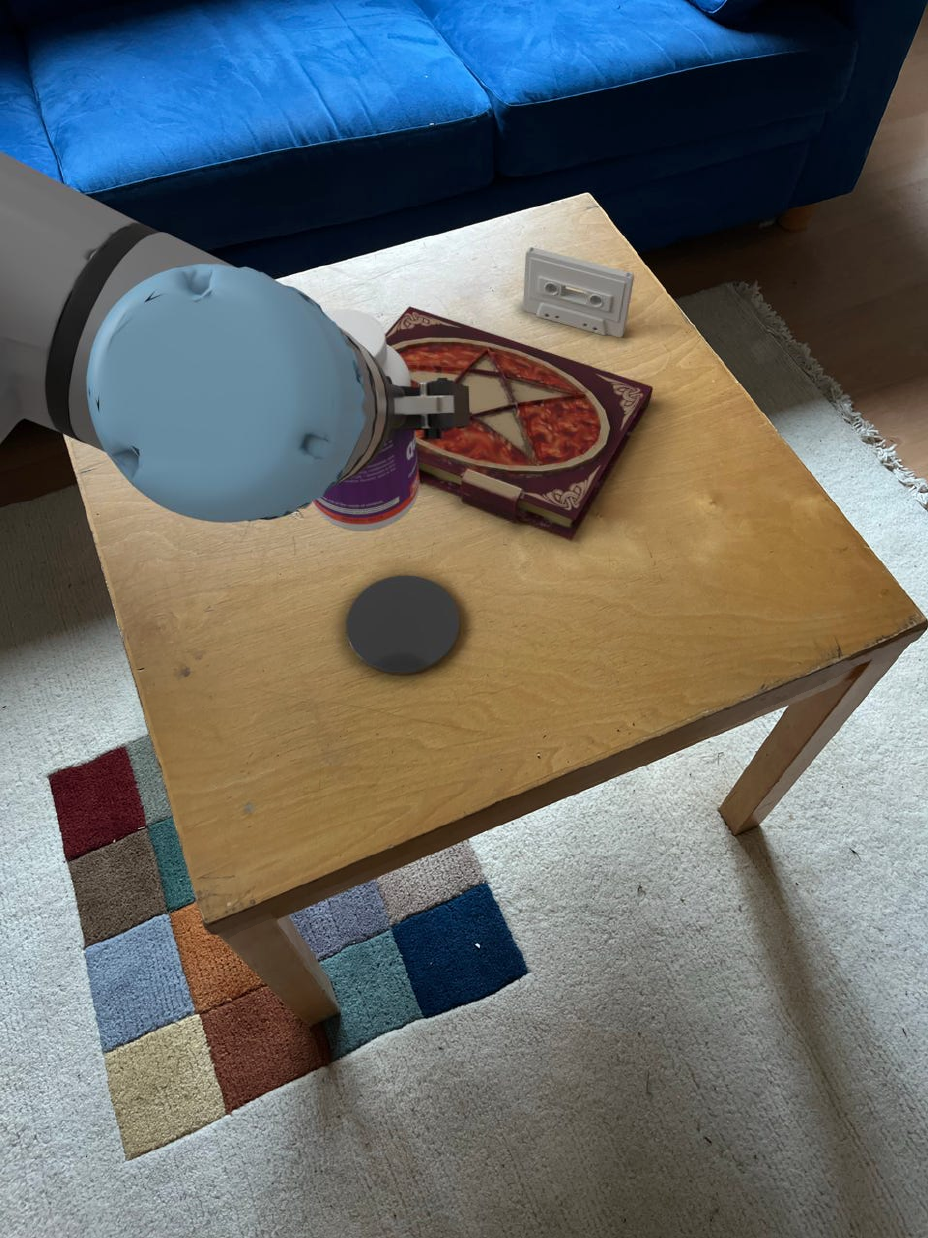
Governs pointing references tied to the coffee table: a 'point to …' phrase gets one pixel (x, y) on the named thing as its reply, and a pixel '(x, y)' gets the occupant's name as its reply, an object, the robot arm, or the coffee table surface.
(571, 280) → the cassette
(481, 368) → the book
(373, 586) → the coaster
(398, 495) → the pill bottle
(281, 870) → the coffee table surface
